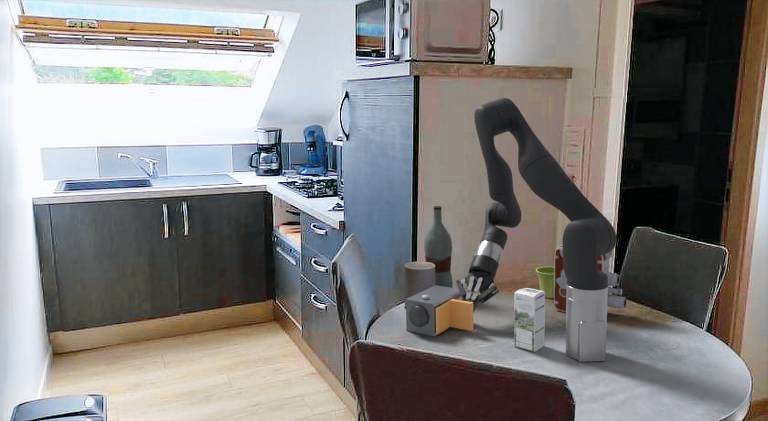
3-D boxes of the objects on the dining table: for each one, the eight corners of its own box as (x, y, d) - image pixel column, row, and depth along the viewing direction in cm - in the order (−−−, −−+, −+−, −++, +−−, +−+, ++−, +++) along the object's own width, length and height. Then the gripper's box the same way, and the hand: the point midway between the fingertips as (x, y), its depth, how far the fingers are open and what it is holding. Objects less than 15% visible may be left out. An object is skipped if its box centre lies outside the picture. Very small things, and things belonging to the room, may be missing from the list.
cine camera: (619, 323, 157) (621, 253, 155) (551, 311, 169) (552, 246, 166) (628, 314, 165) (630, 247, 162) (562, 303, 176) (563, 240, 173)
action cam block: (435, 314, 170) (435, 282, 168) (463, 319, 164) (462, 286, 163) (404, 331, 156) (403, 297, 154) (433, 338, 151) (432, 302, 149)
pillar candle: (398, 308, 176) (397, 261, 174) (418, 300, 183) (417, 255, 181) (422, 315, 170) (421, 266, 167) (442, 307, 177) (441, 260, 174)
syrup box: (545, 345, 143) (546, 290, 141) (533, 353, 139) (534, 295, 137) (525, 340, 147) (525, 286, 145) (513, 347, 143) (513, 291, 141)
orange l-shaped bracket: (450, 324, 158) (450, 298, 157) (473, 329, 154) (473, 302, 152) (436, 333, 151) (435, 306, 150) (459, 338, 147) (459, 310, 146)
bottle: (419, 296, 188) (417, 207, 184) (435, 290, 195) (433, 203, 191) (442, 301, 182) (441, 209, 178) (458, 294, 189) (457, 205, 185)
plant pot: (569, 300, 180) (569, 273, 179) (539, 300, 180) (540, 274, 179) (560, 291, 189) (561, 266, 188) (532, 292, 189) (532, 267, 188)
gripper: (511, 270, 161) (493, 324, 153) (470, 265, 169) (450, 316, 161) (504, 256, 156) (484, 311, 148) (461, 251, 164) (440, 303, 156)
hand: (467, 313), depth 155 cm, fingers closed
